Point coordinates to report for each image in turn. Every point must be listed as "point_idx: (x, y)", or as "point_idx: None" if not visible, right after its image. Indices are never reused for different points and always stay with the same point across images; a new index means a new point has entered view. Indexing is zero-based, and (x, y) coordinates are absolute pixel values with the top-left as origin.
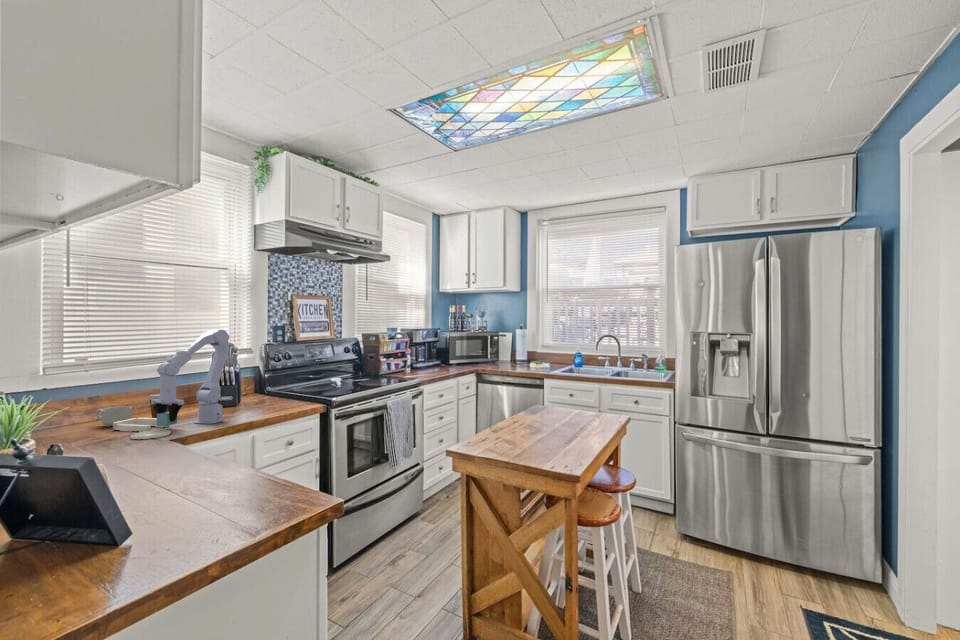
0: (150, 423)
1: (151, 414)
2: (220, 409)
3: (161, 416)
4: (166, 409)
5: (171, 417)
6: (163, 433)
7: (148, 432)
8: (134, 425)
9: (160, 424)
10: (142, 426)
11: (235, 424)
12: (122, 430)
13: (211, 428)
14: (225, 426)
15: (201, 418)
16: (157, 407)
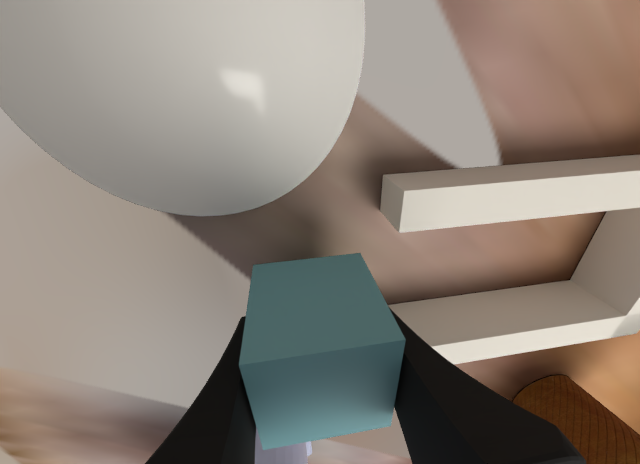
0: (497, 308)
1: (599, 402)
2: None
3: (328, 322)
4: None
5: (226, 350)
6: (31, 78)
7: (263, 83)
8: (541, 187)
9: (324, 263)
10: (449, 185)
11: (43, 460)
12: (596, 159)
13: (39, 377)
14: (28, 425)
15: (256, 447)
16: (465, 446)
